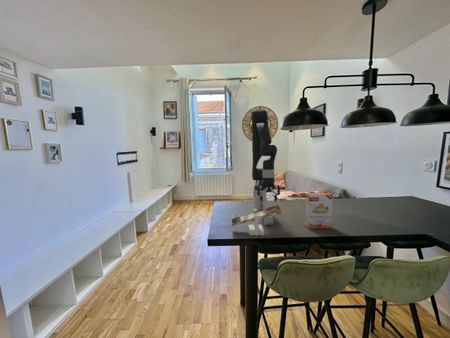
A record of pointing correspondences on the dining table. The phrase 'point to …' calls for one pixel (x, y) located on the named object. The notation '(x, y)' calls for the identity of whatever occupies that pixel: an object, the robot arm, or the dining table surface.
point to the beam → (251, 217)
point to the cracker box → (318, 210)
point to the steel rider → (268, 220)
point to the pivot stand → (256, 226)
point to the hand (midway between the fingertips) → (268, 201)
